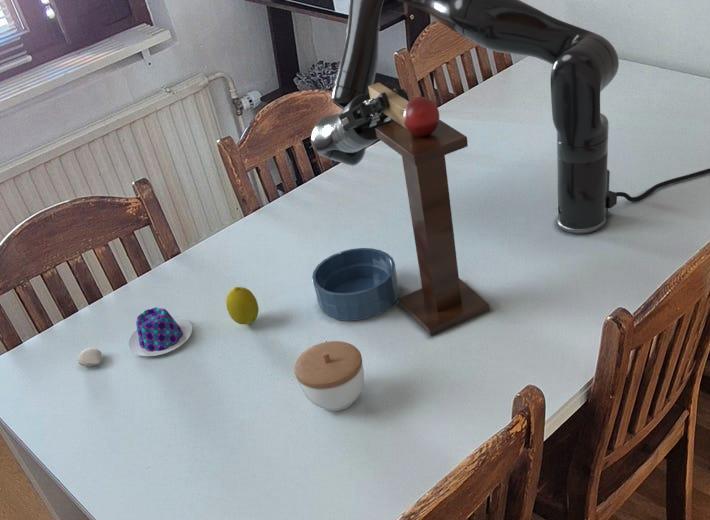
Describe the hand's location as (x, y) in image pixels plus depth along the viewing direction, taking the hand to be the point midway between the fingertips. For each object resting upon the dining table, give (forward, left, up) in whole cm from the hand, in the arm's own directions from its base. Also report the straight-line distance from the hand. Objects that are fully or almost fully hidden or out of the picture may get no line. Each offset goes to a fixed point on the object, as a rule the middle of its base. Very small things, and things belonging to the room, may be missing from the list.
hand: (393, 97), depth 126 cm
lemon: (+27, -18, -35) cm, 48 cm away
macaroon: (+52, -32, -35) cm, 71 cm away
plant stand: (+2, +8, -35) cm, 36 cm away
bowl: (+9, -7, -35) cm, 37 cm away
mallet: (+1, +2, -3) cm, 4 cm away
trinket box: (+30, +12, -35) cm, 48 cm away
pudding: (+40, -28, -35) cm, 61 cm away
